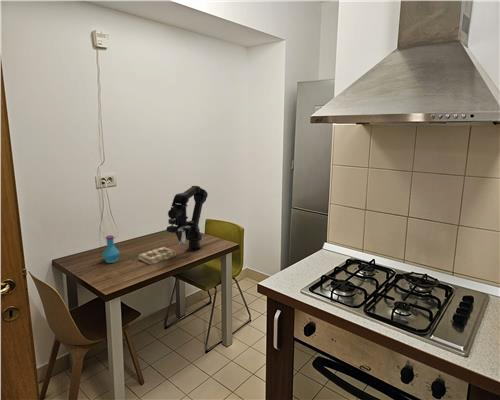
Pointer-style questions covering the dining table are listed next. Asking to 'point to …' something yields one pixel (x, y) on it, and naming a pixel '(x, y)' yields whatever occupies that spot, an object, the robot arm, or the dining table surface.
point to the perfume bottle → (110, 250)
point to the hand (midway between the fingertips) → (182, 240)
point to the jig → (157, 255)
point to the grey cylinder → (183, 238)
